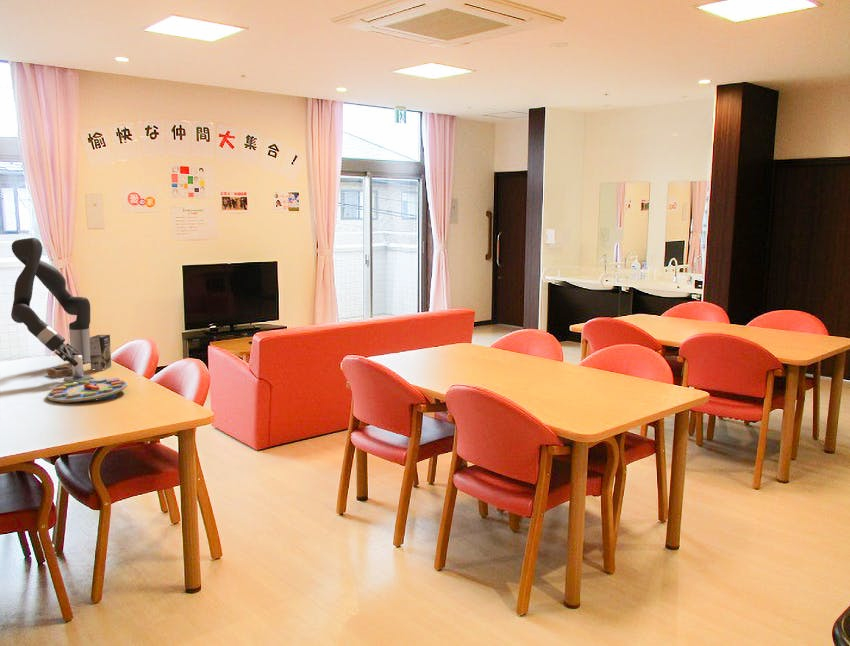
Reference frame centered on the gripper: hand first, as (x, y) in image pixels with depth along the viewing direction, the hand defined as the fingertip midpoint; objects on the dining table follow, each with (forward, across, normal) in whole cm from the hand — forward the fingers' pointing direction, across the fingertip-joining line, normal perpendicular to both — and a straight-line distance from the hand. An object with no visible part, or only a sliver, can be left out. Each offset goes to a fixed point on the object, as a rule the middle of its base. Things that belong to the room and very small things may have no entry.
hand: (79, 363), depth 327 cm
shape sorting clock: (+14, -30, -2) cm, 33 cm away
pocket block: (-3, +12, +14) cm, 18 cm away
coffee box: (+8, +25, +4) cm, 26 cm away
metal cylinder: (+4, 0, +5) cm, 7 cm away
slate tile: (+5, 0, +6) cm, 8 cm away
